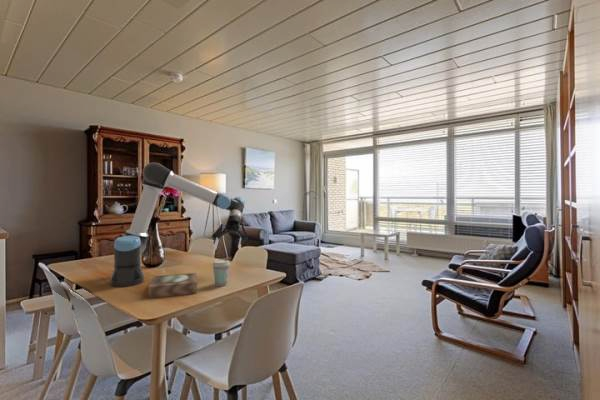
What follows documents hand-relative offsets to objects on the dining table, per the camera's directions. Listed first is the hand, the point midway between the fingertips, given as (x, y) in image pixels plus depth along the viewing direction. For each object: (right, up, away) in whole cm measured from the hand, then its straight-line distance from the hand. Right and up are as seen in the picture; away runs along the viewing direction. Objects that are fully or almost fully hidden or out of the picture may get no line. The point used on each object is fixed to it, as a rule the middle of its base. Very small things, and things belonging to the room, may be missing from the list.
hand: (226, 248), depth 162 cm
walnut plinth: (-21, -16, -20) cm, 33 cm away
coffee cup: (0, -17, -11) cm, 20 cm away
